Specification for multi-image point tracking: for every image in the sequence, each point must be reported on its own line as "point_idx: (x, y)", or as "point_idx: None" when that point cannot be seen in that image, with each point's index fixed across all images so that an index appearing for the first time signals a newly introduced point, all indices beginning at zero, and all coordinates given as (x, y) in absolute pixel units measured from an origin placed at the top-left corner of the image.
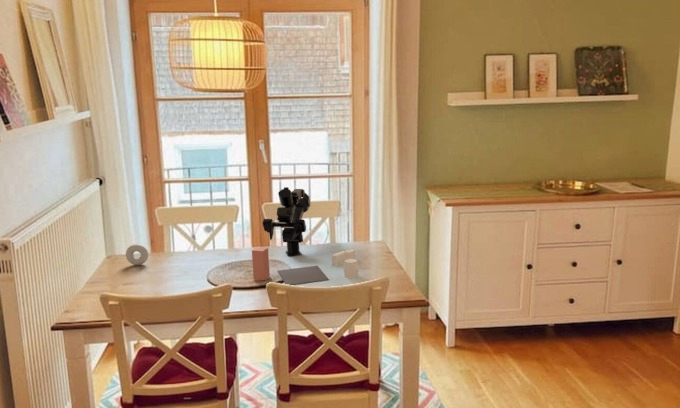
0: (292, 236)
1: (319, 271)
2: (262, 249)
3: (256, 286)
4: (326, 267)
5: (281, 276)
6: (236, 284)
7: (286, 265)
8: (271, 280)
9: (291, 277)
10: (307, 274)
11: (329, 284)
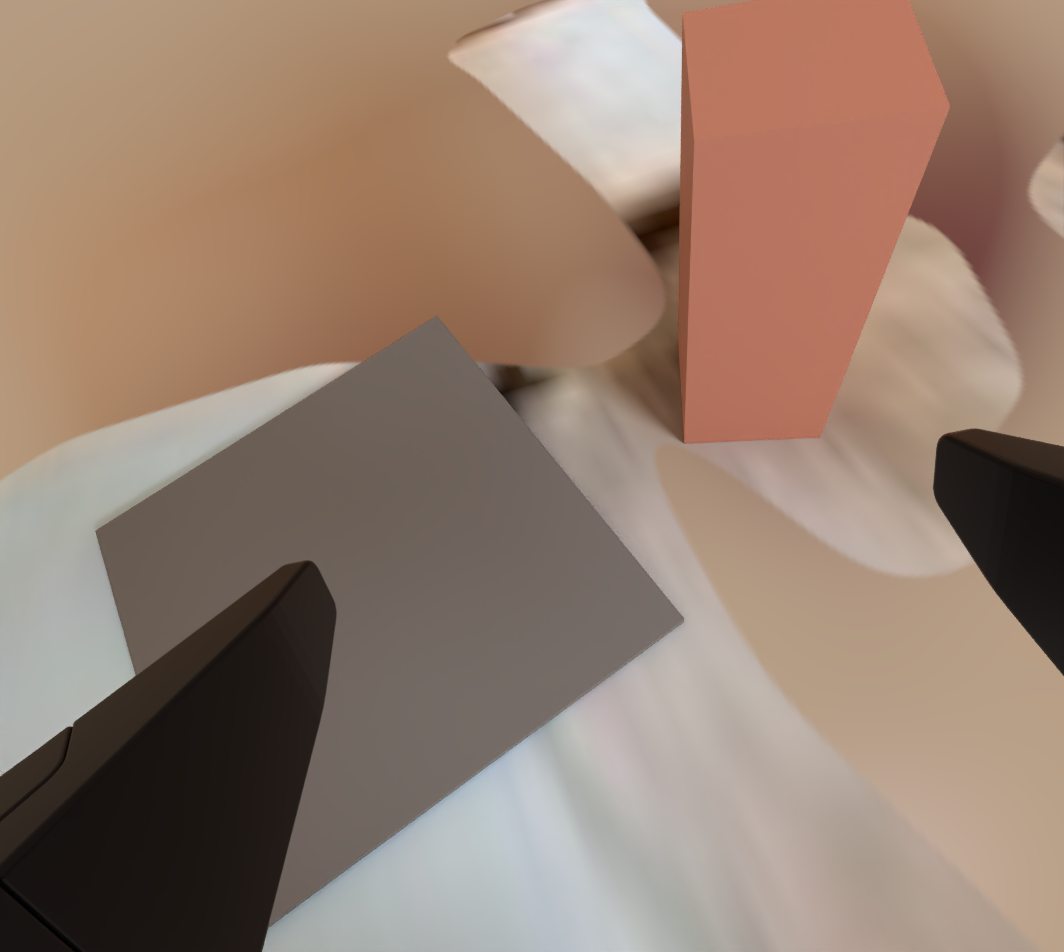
0: (232, 610)
1: None
2: (740, 56)
3: None
4: None
5: (553, 462)
6: None
7: (676, 903)
8: (619, 375)
9: (443, 468)
10: None
11: (104, 450)
